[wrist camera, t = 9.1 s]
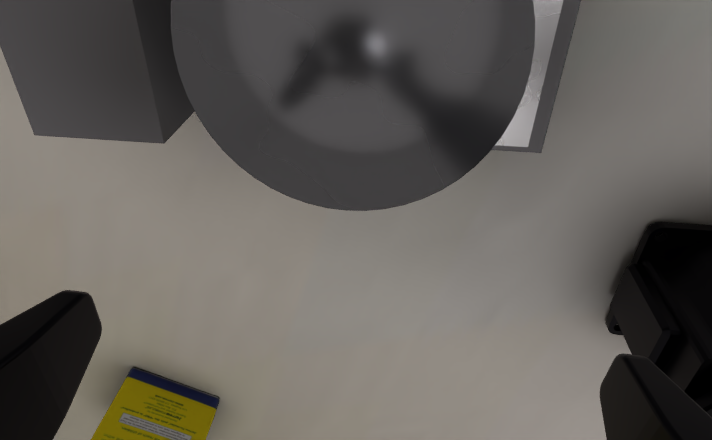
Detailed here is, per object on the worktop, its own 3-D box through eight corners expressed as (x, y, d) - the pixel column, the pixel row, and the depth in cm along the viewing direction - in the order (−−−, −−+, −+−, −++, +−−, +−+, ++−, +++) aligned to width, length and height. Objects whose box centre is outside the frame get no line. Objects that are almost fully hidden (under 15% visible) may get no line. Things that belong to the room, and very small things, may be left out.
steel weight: (489, -141, 12) (583, -161, 5) (459, 67, 15) (496, 221, 8) (284, -146, 12) (132, -171, 6) (294, 59, 15) (201, 200, 8)
